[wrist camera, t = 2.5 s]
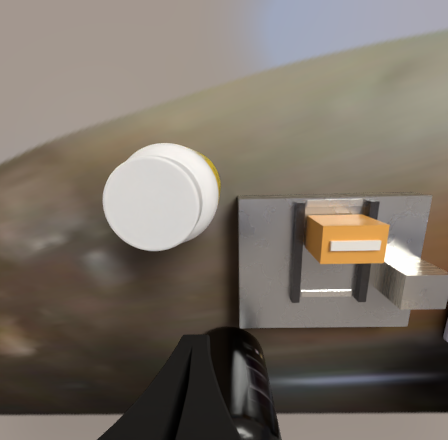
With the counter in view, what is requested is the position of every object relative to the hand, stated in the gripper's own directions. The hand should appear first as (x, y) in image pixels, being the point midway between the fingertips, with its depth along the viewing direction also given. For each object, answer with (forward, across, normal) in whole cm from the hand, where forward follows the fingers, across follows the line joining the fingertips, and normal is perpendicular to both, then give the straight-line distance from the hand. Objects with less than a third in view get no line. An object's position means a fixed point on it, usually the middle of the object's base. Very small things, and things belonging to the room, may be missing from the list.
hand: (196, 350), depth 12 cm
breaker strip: (+9, -10, -1) cm, 13 cm away
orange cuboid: (+7, -10, -4) cm, 12 cm away
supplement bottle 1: (+9, +1, -8) cm, 12 cm away
